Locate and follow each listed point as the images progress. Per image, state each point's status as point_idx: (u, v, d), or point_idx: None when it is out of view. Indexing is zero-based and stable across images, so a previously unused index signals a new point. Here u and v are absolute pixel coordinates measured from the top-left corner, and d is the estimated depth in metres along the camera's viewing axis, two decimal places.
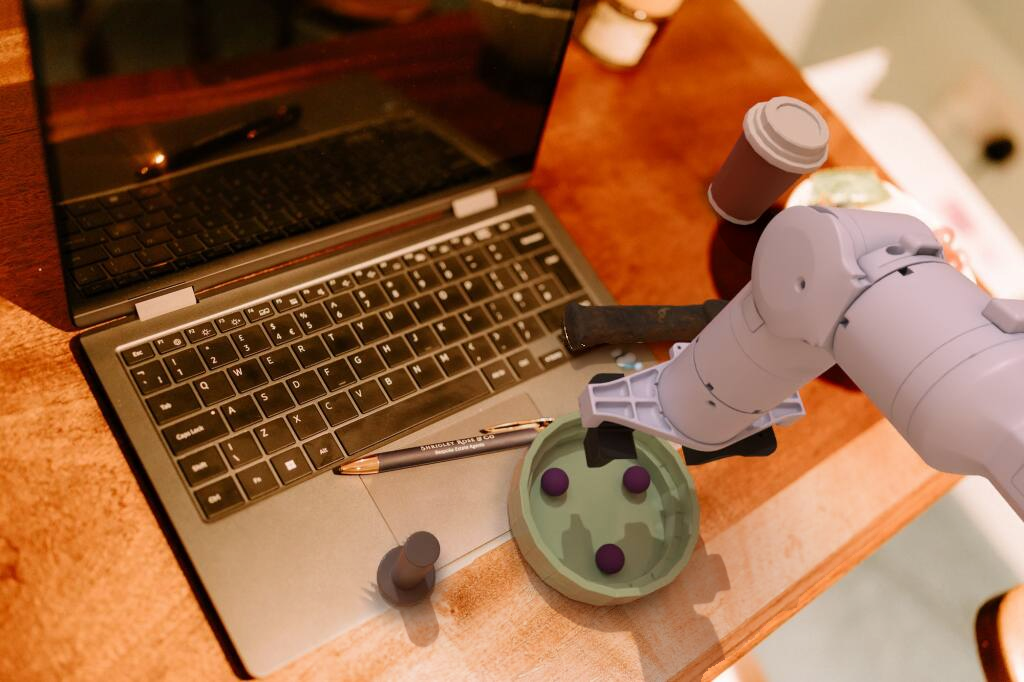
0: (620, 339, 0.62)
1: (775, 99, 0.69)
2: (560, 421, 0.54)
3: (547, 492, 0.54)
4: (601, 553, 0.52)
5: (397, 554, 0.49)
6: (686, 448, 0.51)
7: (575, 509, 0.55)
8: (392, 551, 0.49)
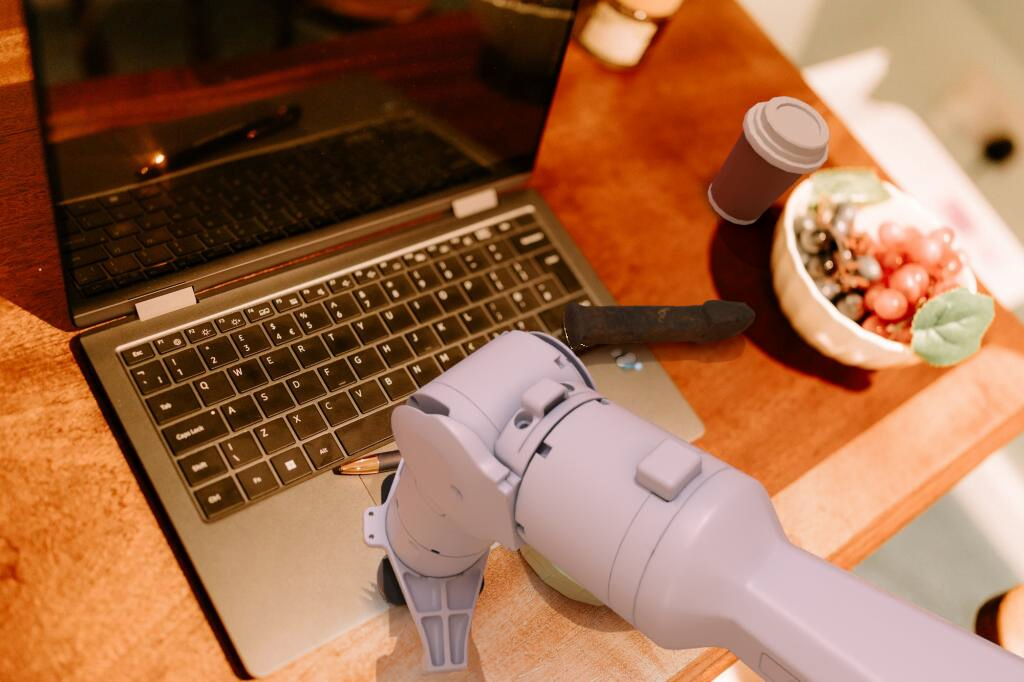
0: (620, 339, 0.62)
1: (775, 99, 0.69)
2: None
3: None
4: None
5: None
6: None
7: None
8: None
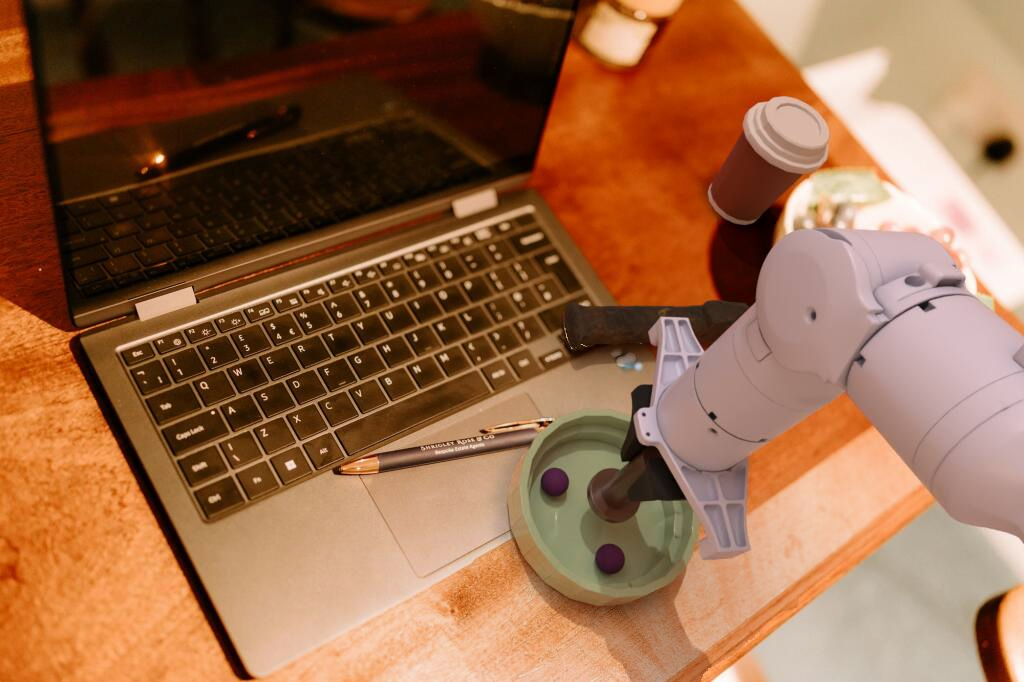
0: (620, 339, 0.62)
1: (775, 99, 0.69)
2: (560, 421, 0.54)
3: (547, 492, 0.54)
4: (601, 553, 0.52)
5: (605, 476, 0.52)
6: None
7: (575, 509, 0.55)
8: (600, 473, 0.52)
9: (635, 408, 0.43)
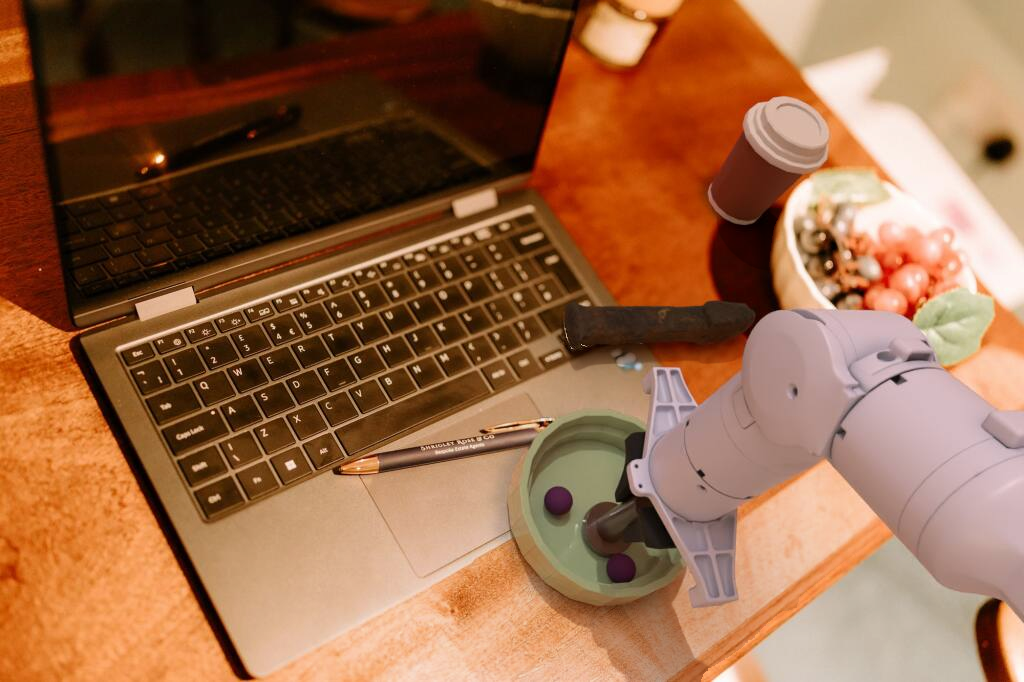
0: (620, 340, 0.62)
1: (775, 99, 0.69)
2: (560, 421, 0.54)
3: (546, 503, 0.53)
4: (618, 566, 0.51)
5: (603, 508, 0.54)
6: None
7: (575, 509, 0.55)
8: (599, 504, 0.54)
9: (628, 456, 0.44)
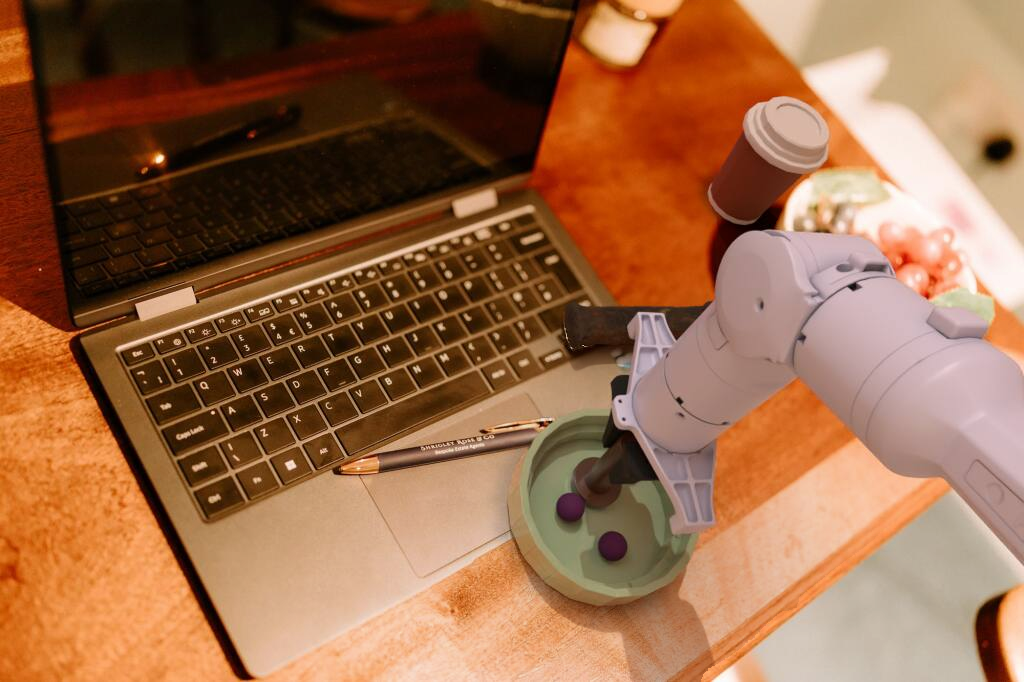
0: (620, 340, 0.62)
1: (775, 99, 0.69)
2: (560, 421, 0.54)
3: (567, 511, 0.52)
4: (600, 538, 0.53)
5: (593, 462, 0.56)
6: None
7: None
8: (589, 459, 0.56)
9: (614, 396, 0.46)
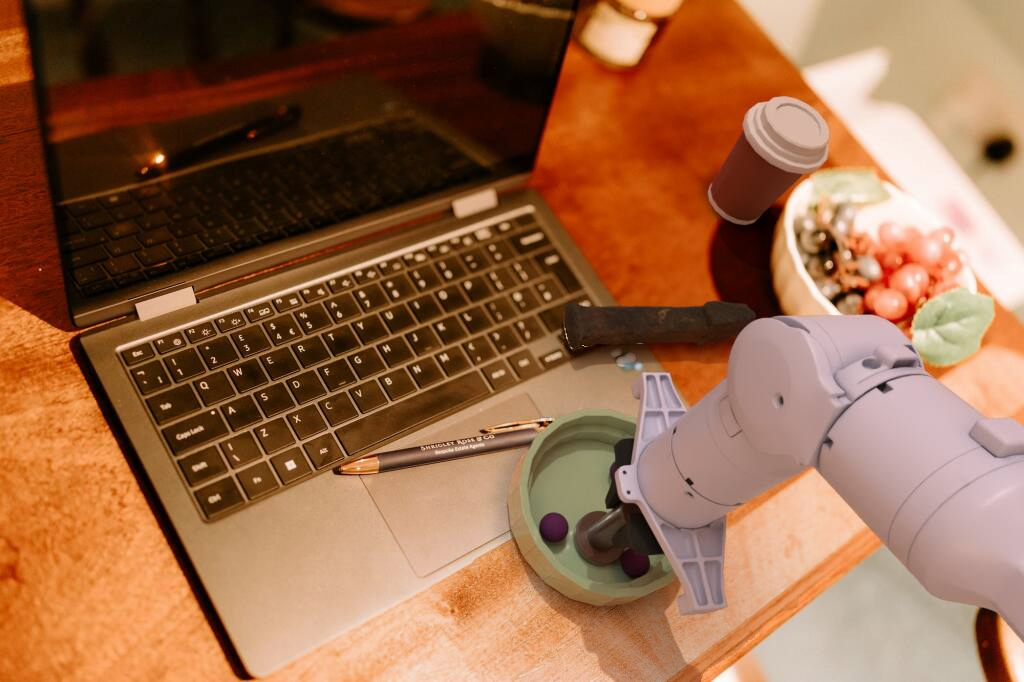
0: (620, 340, 0.62)
1: (775, 99, 0.69)
2: (560, 421, 0.54)
3: None
4: (637, 560, 0.52)
5: (596, 517, 0.54)
6: None
7: (575, 509, 0.55)
8: (593, 513, 0.54)
9: (617, 463, 0.44)
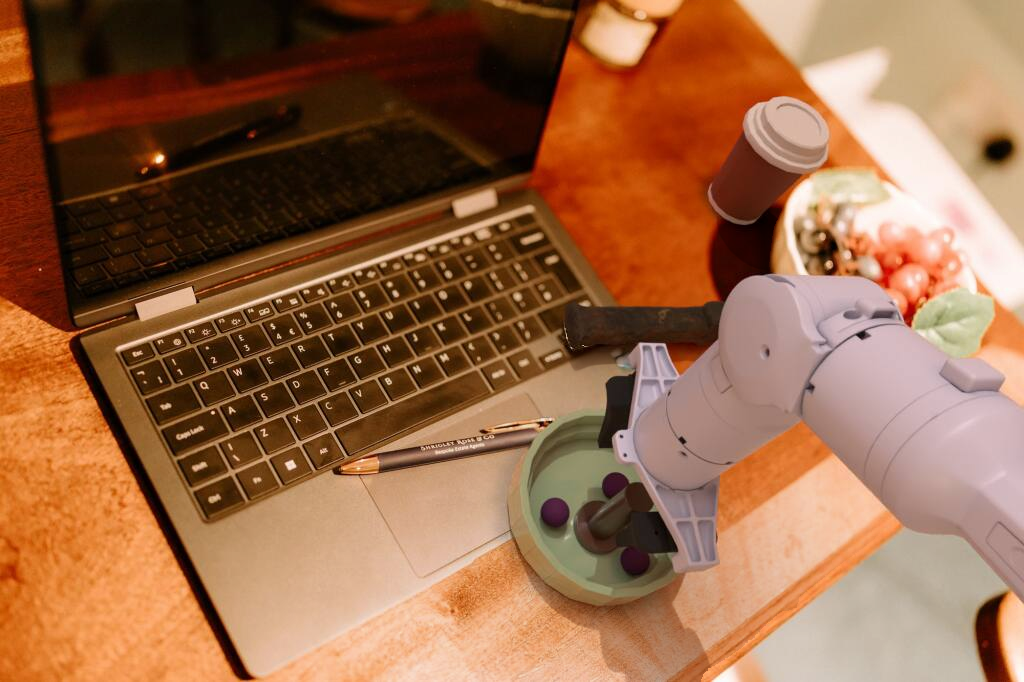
0: (620, 340, 0.62)
1: (775, 99, 0.69)
2: (560, 421, 0.54)
3: (542, 519, 0.53)
4: (635, 555, 0.52)
5: (597, 506, 0.54)
6: (612, 445, 0.52)
7: (575, 509, 0.55)
8: (594, 502, 0.55)
9: (608, 397, 0.47)
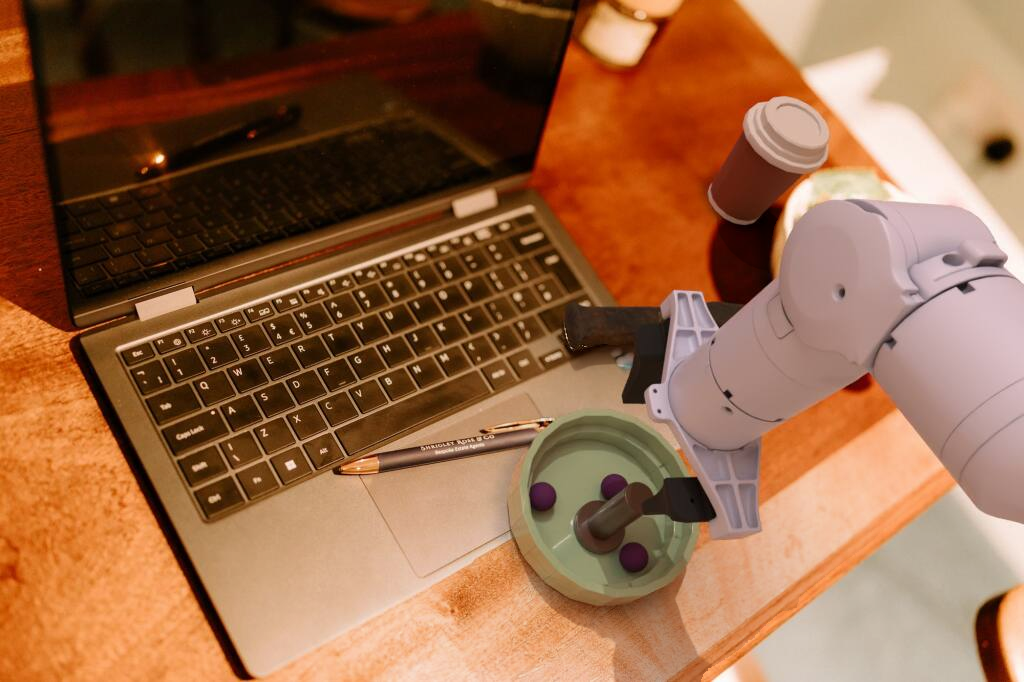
0: (620, 340, 0.62)
1: (775, 99, 0.69)
2: (560, 421, 0.54)
3: None
4: (632, 550, 0.52)
5: (597, 506, 0.54)
6: (638, 400, 0.48)
7: (575, 509, 0.55)
8: (594, 502, 0.55)
9: (638, 346, 0.43)
